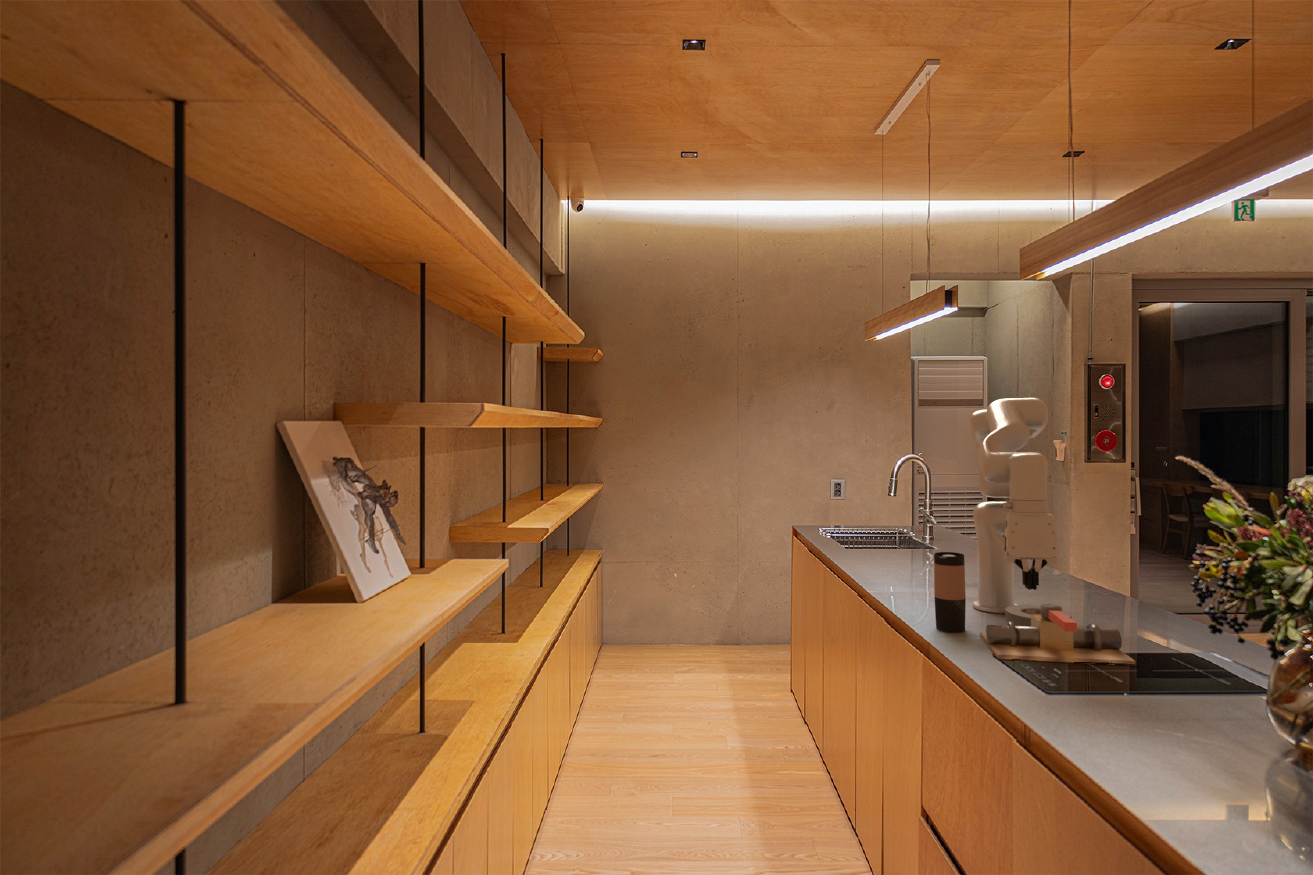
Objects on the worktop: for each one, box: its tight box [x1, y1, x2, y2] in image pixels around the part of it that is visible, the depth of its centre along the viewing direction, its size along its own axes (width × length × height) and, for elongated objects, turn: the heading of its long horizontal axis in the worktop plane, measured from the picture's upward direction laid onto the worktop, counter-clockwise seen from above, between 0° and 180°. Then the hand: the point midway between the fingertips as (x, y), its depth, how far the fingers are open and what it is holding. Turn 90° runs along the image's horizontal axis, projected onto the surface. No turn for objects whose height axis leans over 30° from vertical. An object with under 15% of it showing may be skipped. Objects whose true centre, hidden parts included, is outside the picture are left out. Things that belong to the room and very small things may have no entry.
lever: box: [1040, 603, 1078, 632], centre depth 160 cm, size 15×4×3 cm, turn 167°
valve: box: [985, 614, 1123, 651], centre depth 165 cm, size 28×7×8 cm, turn 77°
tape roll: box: [1004, 604, 1073, 626], centre depth 182 cm, size 15×15×5 cm
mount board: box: [979, 632, 1136, 665], centre depth 165 cm, size 28×18×1 cm, turn 77°
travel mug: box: [933, 551, 967, 634], centre depth 184 cm, size 8×8×20 cm
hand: (1030, 588), depth 157 cm, fingers closed
